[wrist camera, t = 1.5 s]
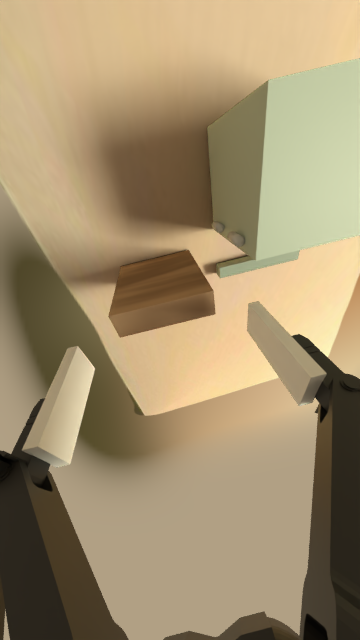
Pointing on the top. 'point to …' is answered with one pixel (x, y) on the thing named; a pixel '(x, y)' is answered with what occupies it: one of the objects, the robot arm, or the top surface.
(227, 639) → the robot arm
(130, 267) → the brown boxy piece
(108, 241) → the top surface
